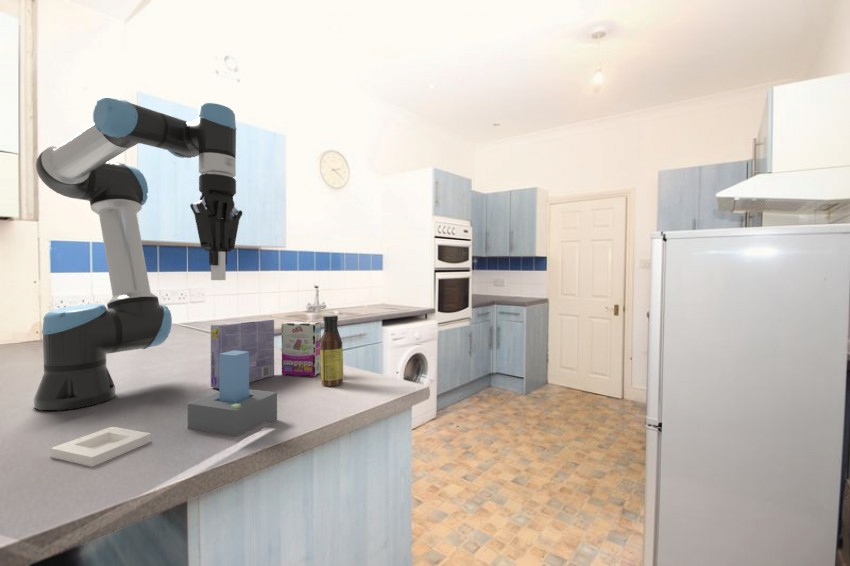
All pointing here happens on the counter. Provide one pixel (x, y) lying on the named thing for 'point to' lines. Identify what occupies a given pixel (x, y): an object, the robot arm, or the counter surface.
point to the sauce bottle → (331, 353)
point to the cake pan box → (244, 347)
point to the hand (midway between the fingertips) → (218, 279)
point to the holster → (100, 446)
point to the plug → (233, 376)
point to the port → (232, 413)
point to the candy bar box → (301, 348)
